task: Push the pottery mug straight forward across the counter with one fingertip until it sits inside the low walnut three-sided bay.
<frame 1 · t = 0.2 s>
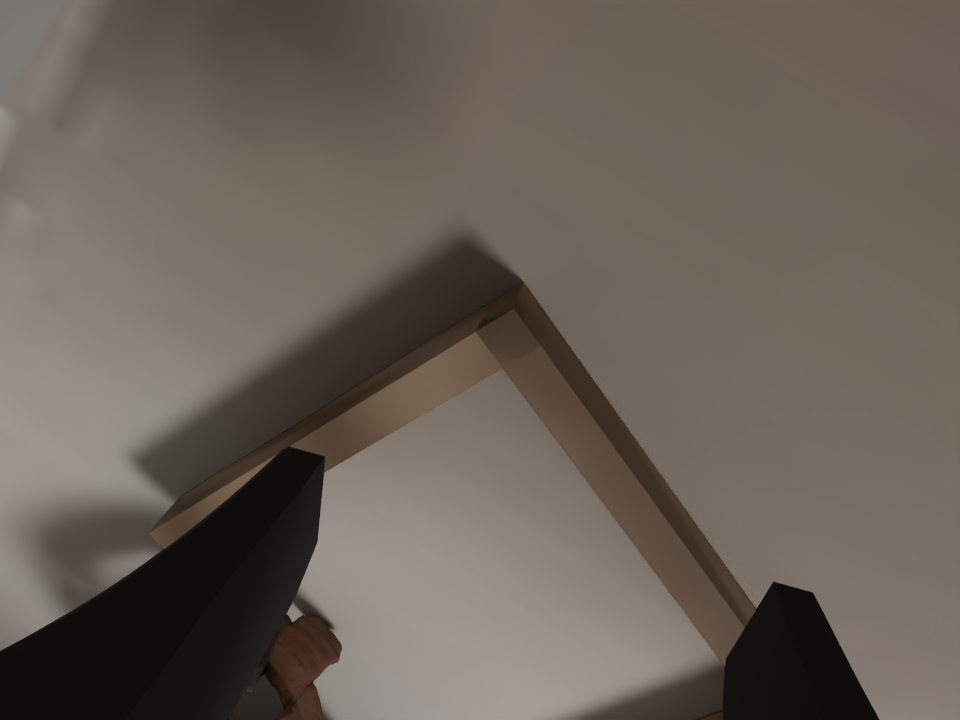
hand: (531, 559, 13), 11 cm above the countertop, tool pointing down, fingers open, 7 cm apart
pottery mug: (282, 691, 31), on the countertop
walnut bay: (483, 606, 27), on the countertop
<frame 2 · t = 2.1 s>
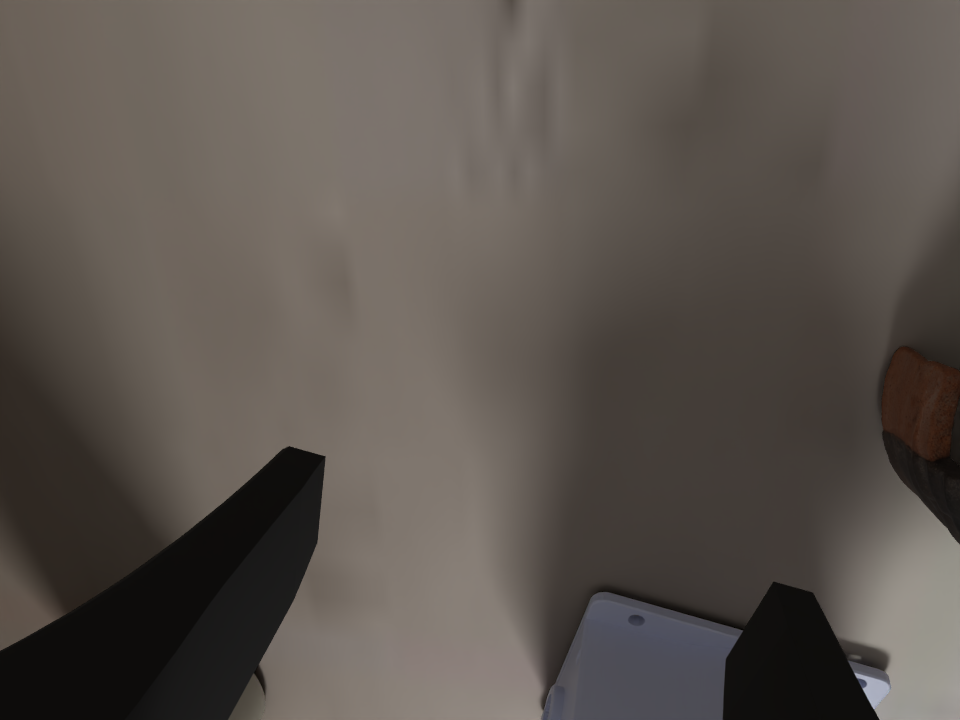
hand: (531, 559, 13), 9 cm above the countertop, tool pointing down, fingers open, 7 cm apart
travel mug: (179, 664, 34), on the countertop
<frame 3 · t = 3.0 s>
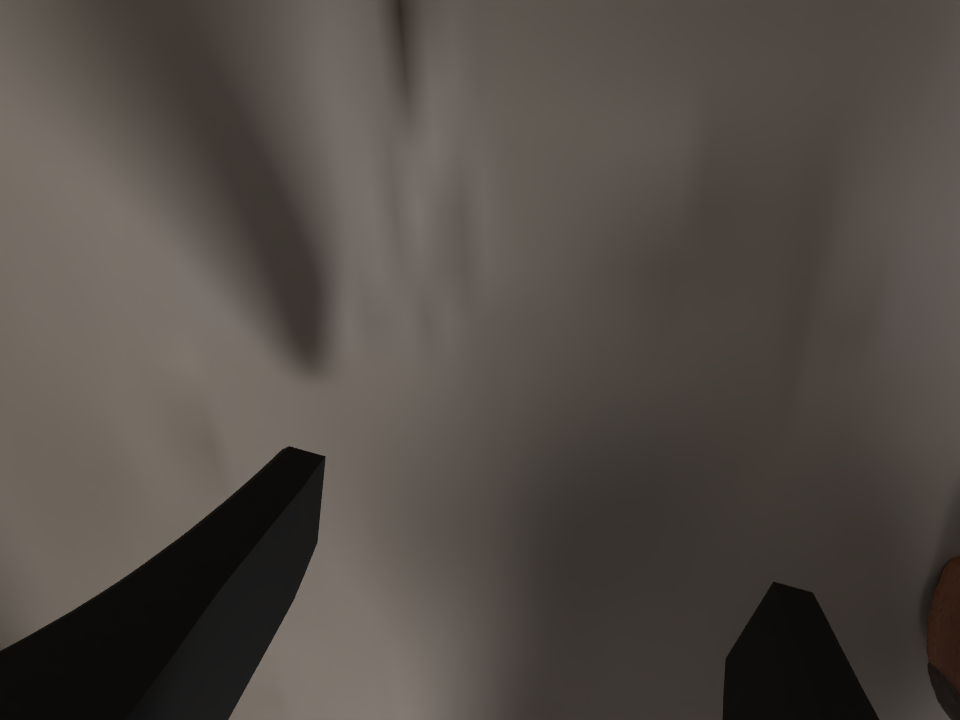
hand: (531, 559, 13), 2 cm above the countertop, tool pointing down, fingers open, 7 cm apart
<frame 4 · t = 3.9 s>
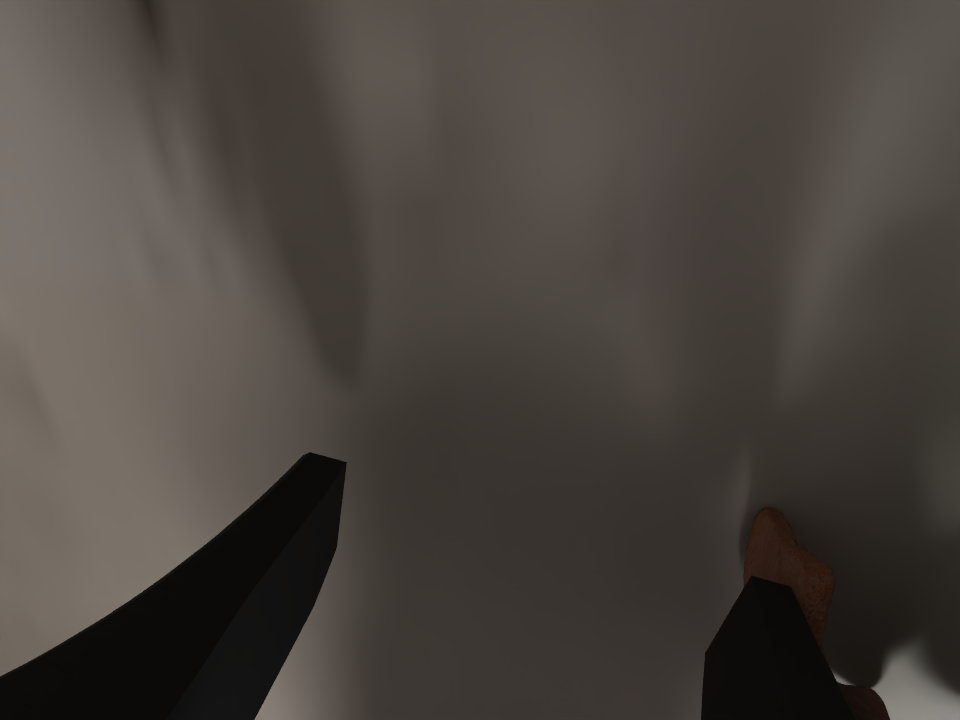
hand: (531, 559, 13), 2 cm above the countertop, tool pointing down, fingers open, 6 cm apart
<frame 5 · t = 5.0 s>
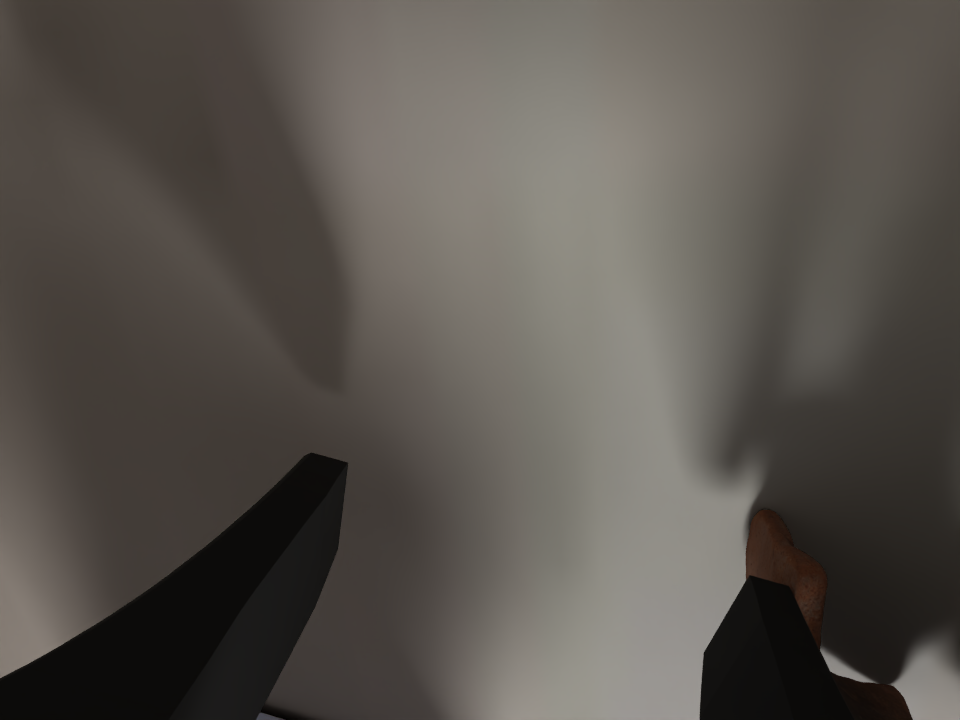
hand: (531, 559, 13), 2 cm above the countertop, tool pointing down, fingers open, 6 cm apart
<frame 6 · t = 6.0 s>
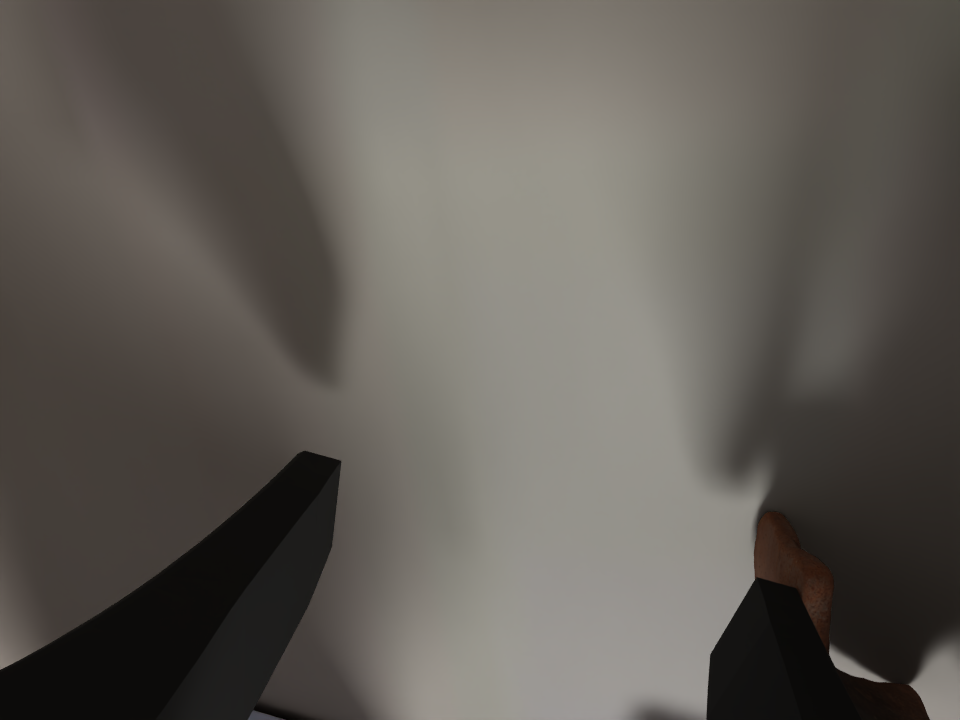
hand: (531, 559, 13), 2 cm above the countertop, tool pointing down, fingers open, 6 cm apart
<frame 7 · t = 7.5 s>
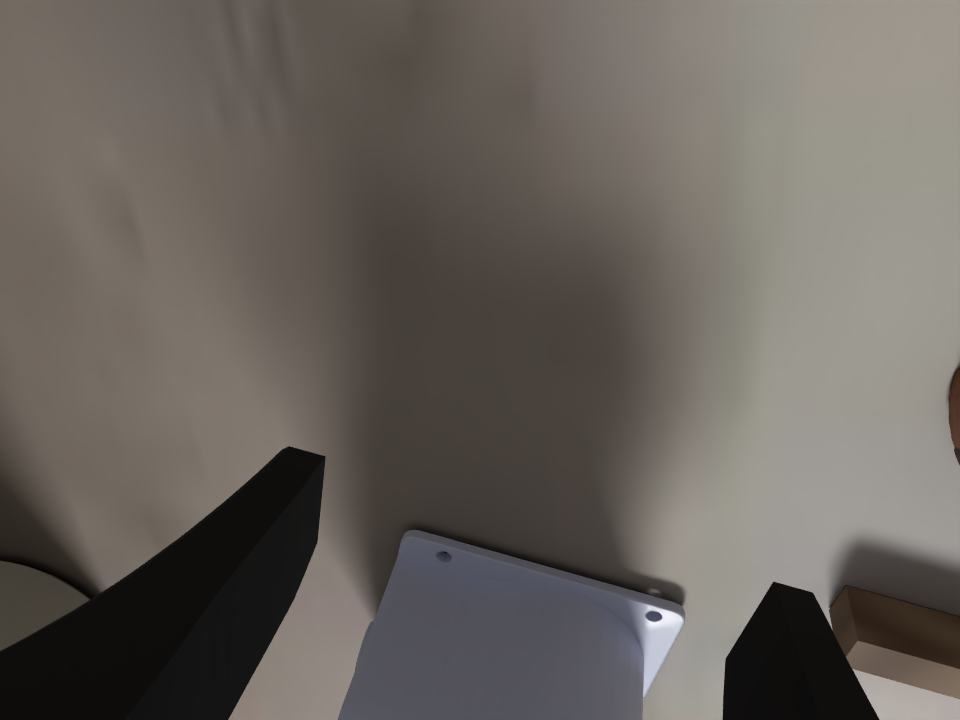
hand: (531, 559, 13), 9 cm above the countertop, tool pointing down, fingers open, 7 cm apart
travel mug: (47, 615, 35), on the countertop
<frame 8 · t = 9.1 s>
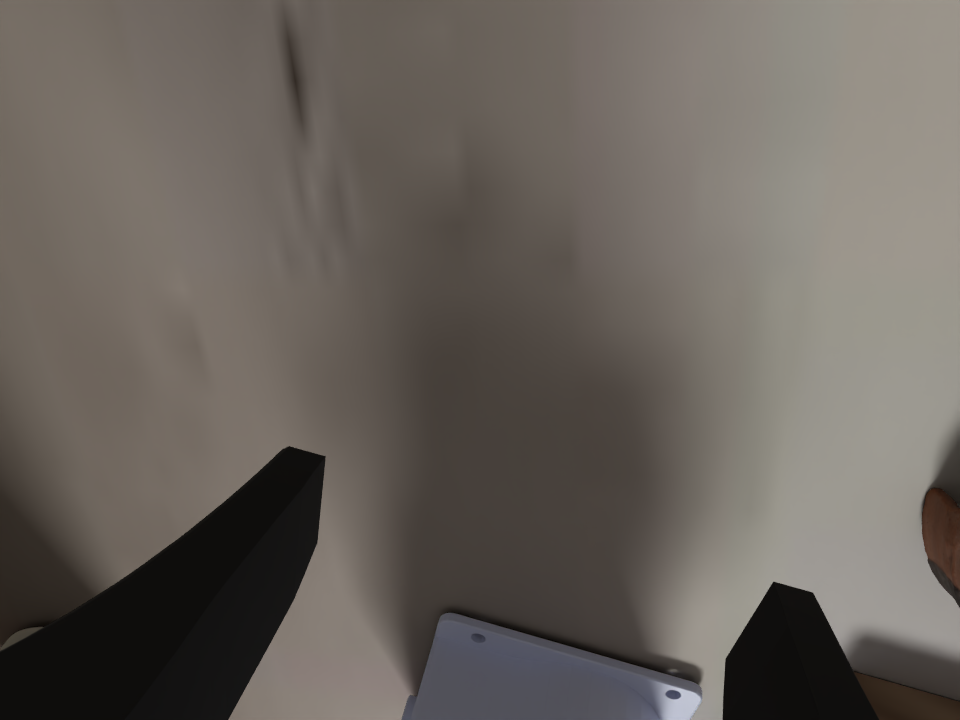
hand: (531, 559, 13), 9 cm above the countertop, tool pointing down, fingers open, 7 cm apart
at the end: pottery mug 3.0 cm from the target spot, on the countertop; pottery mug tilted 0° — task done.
